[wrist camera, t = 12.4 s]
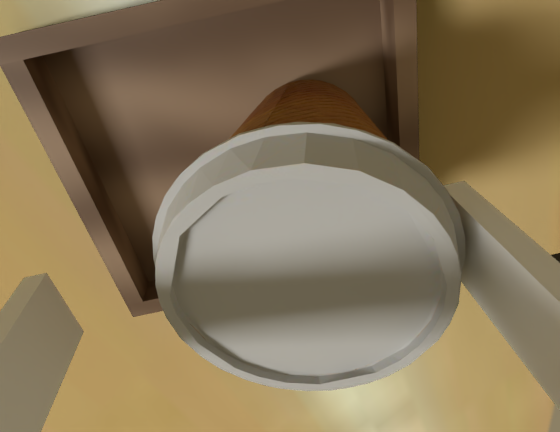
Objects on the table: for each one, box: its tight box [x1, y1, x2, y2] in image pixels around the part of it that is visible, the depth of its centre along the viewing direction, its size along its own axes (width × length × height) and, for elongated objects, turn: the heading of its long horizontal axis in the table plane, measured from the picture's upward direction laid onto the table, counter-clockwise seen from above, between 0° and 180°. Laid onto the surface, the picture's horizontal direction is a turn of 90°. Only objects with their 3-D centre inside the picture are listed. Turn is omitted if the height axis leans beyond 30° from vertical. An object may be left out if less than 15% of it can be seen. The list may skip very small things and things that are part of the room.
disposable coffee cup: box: [152, 79, 466, 391], centre depth 17 cm, size 10×10×12 cm
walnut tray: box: [0, 0, 419, 317], centre depth 22 cm, size 16×18×2 cm
